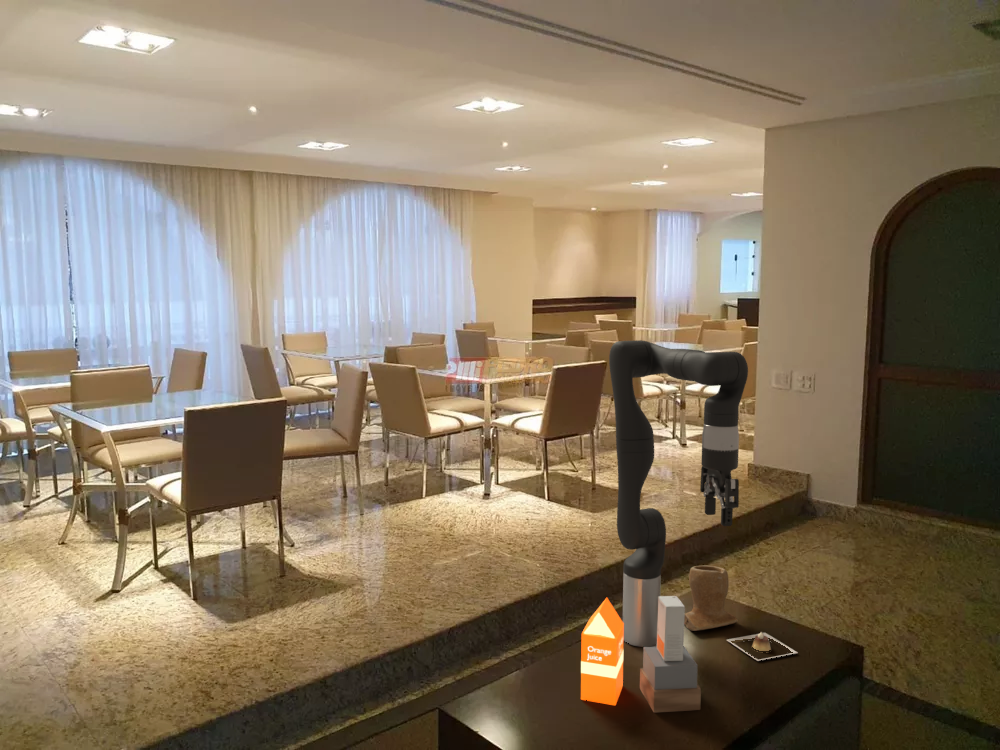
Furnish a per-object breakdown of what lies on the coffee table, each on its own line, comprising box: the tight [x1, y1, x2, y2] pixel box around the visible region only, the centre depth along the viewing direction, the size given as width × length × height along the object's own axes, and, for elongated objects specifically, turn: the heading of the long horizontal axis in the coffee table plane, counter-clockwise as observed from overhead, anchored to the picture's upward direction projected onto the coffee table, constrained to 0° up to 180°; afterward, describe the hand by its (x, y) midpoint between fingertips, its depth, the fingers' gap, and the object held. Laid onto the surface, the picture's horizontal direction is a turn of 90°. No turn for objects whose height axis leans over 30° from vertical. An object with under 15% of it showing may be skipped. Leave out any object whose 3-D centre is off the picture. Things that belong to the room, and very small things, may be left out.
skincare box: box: [656, 595, 686, 661], centre depth 162 cm, size 6×4×12 cm
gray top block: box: [642, 645, 698, 690], centre depth 163 cm, size 9×9×5 cm
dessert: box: [726, 631, 799, 662], centre depth 187 cm, size 12×12×5 cm
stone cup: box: [684, 564, 738, 632], centre depth 201 cm, size 15×12×15 cm
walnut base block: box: [639, 667, 702, 713], centre depth 164 cm, size 10×10×5 cm
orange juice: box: [580, 597, 624, 706], centre depth 165 cm, size 8×9×20 cm
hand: (718, 519), depth 164 cm, fingers open, 8 cm apart
